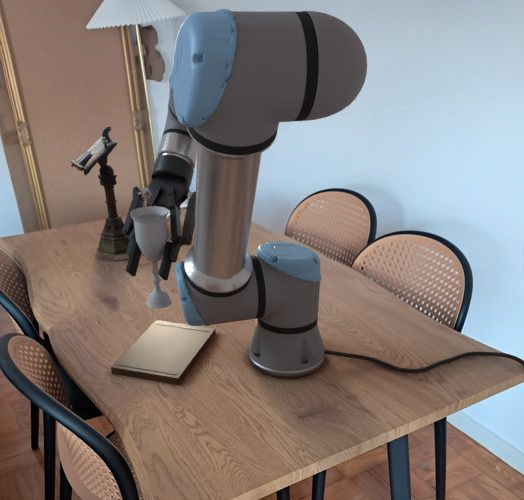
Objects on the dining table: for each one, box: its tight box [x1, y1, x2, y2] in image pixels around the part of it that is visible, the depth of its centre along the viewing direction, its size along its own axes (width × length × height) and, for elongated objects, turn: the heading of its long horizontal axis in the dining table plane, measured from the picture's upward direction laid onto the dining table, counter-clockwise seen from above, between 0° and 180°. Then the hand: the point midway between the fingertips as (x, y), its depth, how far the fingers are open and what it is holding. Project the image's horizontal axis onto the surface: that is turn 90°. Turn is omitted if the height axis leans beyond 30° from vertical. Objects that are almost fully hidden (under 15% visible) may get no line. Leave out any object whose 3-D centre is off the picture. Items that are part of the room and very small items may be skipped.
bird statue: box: [69, 126, 130, 262], centre depth 150 cm, size 17×13×35 cm
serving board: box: [110, 319, 217, 386], centre depth 113 cm, size 14×20×2 cm
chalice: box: [130, 206, 173, 310], centre depth 103 cm, size 7×7×18 cm
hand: (146, 275), depth 101 cm, fingers closed on chalice, 6 cm apart
